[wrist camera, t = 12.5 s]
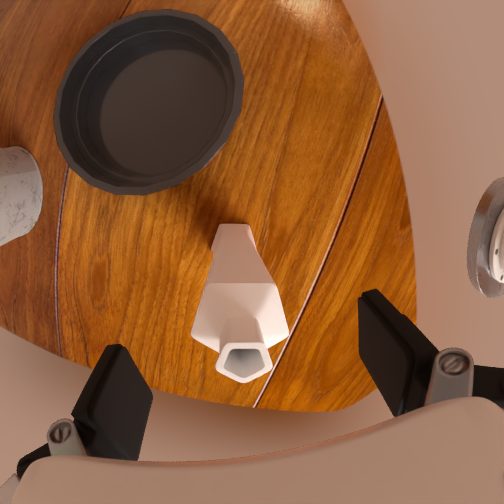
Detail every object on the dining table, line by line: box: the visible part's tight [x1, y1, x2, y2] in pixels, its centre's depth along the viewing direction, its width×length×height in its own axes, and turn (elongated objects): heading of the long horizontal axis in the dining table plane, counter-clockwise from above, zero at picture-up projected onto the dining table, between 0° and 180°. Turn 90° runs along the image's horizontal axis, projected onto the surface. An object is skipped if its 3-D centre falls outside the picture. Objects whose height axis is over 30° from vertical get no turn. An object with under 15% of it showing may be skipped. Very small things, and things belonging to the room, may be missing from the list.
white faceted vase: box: [191, 224, 289, 383], centre depth 17 cm, size 5×4×15 cm
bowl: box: [53, 9, 244, 195], centre depth 18 cm, size 14×14×4 cm
